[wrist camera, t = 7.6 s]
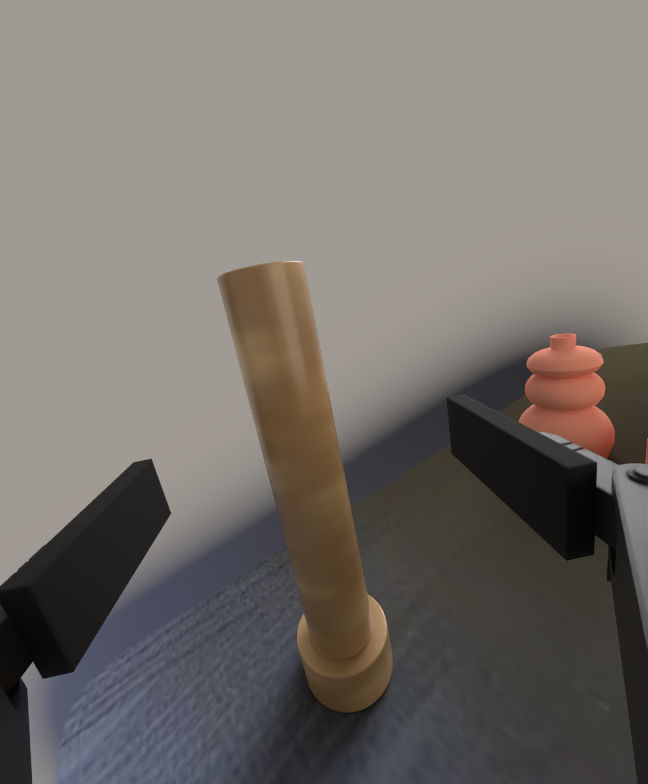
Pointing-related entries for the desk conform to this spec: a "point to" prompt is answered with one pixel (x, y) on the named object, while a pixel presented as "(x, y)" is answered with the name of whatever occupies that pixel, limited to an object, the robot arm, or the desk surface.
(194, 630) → the desk surface
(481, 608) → the desk surface
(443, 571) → the desk surface
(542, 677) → the desk surface
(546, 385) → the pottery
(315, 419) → the pestle
